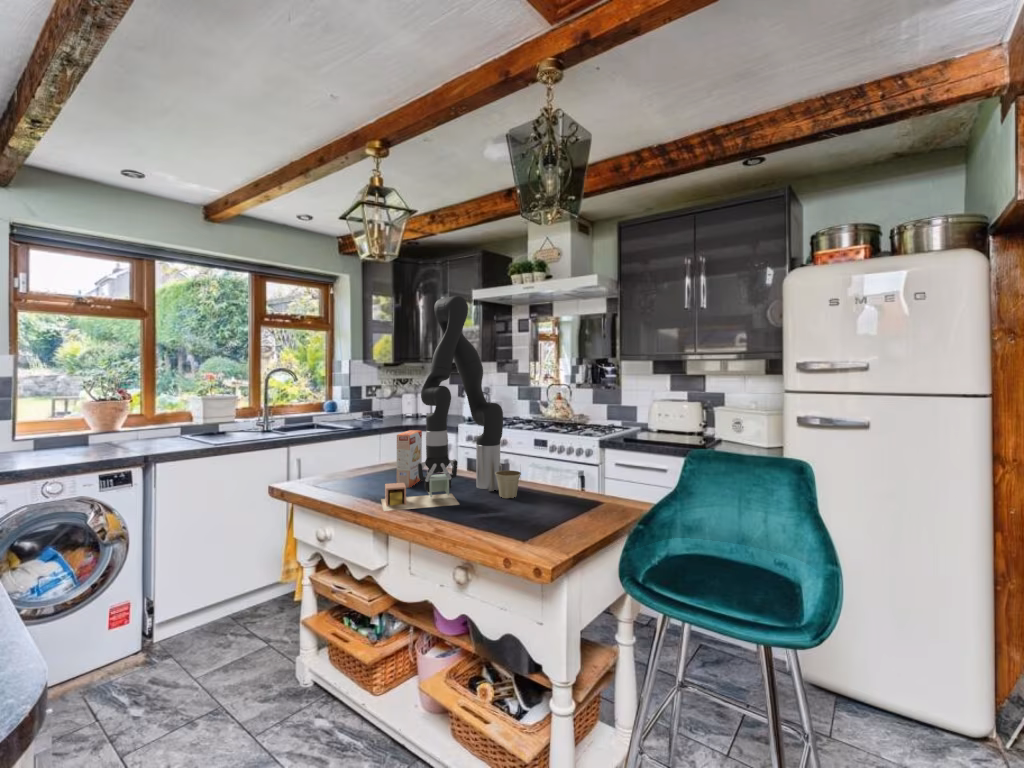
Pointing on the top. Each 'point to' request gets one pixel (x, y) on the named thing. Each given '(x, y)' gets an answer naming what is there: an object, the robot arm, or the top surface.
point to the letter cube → (395, 497)
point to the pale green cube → (438, 484)
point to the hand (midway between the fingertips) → (438, 490)
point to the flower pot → (508, 483)
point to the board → (422, 502)
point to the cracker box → (409, 457)
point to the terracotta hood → (395, 487)
